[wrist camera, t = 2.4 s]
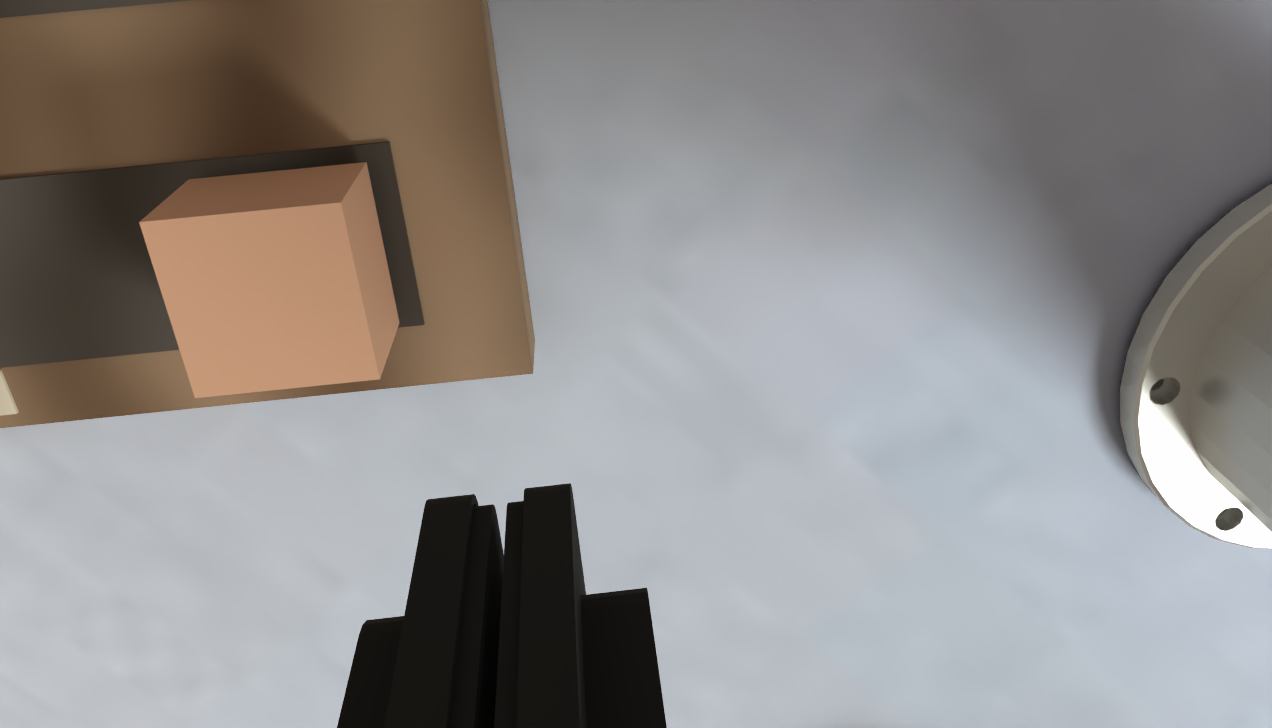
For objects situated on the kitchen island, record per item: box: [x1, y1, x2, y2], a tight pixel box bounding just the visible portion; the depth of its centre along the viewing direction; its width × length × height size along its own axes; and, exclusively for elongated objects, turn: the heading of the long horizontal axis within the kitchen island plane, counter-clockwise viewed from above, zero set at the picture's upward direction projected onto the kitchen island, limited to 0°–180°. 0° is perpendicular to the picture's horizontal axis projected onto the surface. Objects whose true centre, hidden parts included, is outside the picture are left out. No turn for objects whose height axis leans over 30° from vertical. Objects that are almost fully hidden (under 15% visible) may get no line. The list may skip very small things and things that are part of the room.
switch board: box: [0, 0, 535, 428], centre depth 23 cm, size 22×16×2 cm
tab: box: [139, 162, 399, 398], centre depth 22 cm, size 4×4×3 cm
